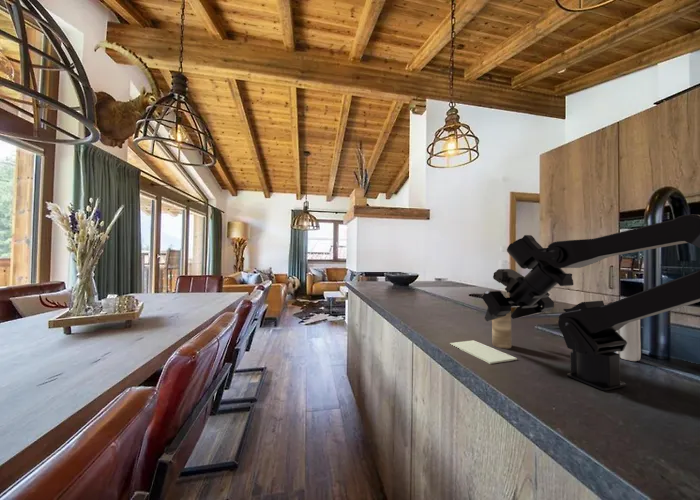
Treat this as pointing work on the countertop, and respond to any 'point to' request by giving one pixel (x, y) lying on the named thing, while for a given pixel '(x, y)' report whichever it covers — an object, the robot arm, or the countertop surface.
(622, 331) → the white rounded-top upright
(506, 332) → the pepper mill
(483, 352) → the sage mat
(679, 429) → the countertop surface
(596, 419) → the countertop surface
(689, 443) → the countertop surface
